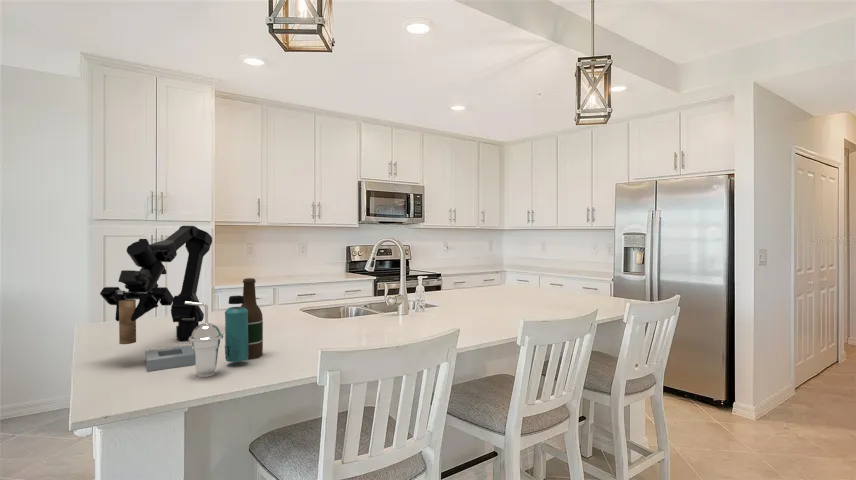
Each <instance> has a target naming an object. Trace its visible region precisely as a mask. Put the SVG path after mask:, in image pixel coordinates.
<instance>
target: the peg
mask: <svg viewBox="0 0 856 480" xmlns="http://www.w3.org/2000/svg"><path fill="white" fill-rule="evenodd" d="M136 300H137V299H129V300H120V301H119V321H118V331H119V332H118V333H119V335H118V336H119V338H118V339H119V342H118V343H119V345H131V344H134V343H137V320H135V321H132V320H131V317H132V315H133V313H134V311H135V309H136V307H137V304H136V302H137V301H136Z"/></svg>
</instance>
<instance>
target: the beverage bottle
mask: <svg viewBox="0 0 856 480" xmlns="http://www.w3.org/2000/svg"><path fill="white" fill-rule="evenodd" d="M242 303H244V297H243V295H230V296H229V297H228V305H242ZM224 321H225V323H224V325H225V326H224V331H225V332H224V334H225V335H224V339H225V340H224V356H225V360H226V362H229V363H238V362H239V363H240V362H245V361H247V360H249V359H248V357H249V349H248V347H249V346H248V345H249V343H248V337H249V335H248V310H247V309H246V308H245V307H241V306H231V307H228V308H227V309H226V310H225V311H224Z"/></svg>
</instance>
